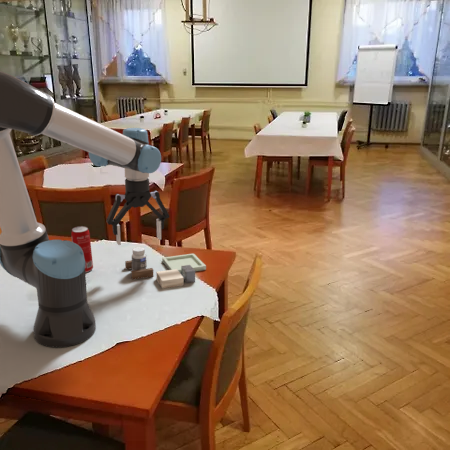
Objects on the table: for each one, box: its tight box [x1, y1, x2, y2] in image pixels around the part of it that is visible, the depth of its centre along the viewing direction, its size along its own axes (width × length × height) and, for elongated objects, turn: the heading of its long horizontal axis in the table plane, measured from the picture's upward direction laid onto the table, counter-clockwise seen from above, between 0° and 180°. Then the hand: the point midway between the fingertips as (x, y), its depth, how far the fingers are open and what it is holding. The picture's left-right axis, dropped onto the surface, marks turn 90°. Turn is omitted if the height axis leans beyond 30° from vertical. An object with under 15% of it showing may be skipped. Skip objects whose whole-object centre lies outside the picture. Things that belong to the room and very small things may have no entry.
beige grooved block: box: [155, 269, 185, 289], centre depth 147 cm, size 7×7×3 cm
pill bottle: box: [131, 246, 147, 271], centre depth 152 cm, size 5×5×8 cm
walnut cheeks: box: [124, 259, 154, 281], centre depth 153 cm, size 10×7×2 cm
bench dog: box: [181, 265, 196, 284], centre depth 149 cm, size 5×3×4 cm, turn 25°
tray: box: [161, 253, 207, 274], centre depth 160 cm, size 12×12×2 cm
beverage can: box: [70, 225, 94, 273], centre depth 151 cm, size 6×6×15 cm
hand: (139, 240), depth 150 cm, fingers open, 13 cm apart
